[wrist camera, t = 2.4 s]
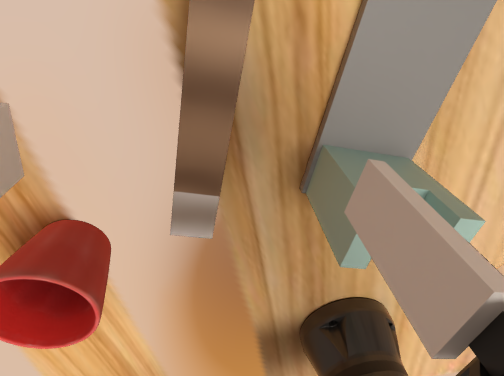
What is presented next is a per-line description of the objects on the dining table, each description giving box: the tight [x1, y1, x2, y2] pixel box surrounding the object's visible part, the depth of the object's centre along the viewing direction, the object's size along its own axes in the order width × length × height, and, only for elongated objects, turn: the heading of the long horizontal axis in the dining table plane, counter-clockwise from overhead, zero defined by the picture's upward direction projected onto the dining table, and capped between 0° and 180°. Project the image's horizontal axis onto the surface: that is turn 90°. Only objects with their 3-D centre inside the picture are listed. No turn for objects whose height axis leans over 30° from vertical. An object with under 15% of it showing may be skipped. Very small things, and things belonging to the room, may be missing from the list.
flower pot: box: [0, 220, 111, 349], centre depth 31 cm, size 11×11×10 cm
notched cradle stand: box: [300, 0, 497, 269], centre depth 22 cm, size 31×11×12 cm, turn 168°
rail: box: [170, 0, 254, 239], centre depth 24 cm, size 28×4×6 cm, turn 168°
